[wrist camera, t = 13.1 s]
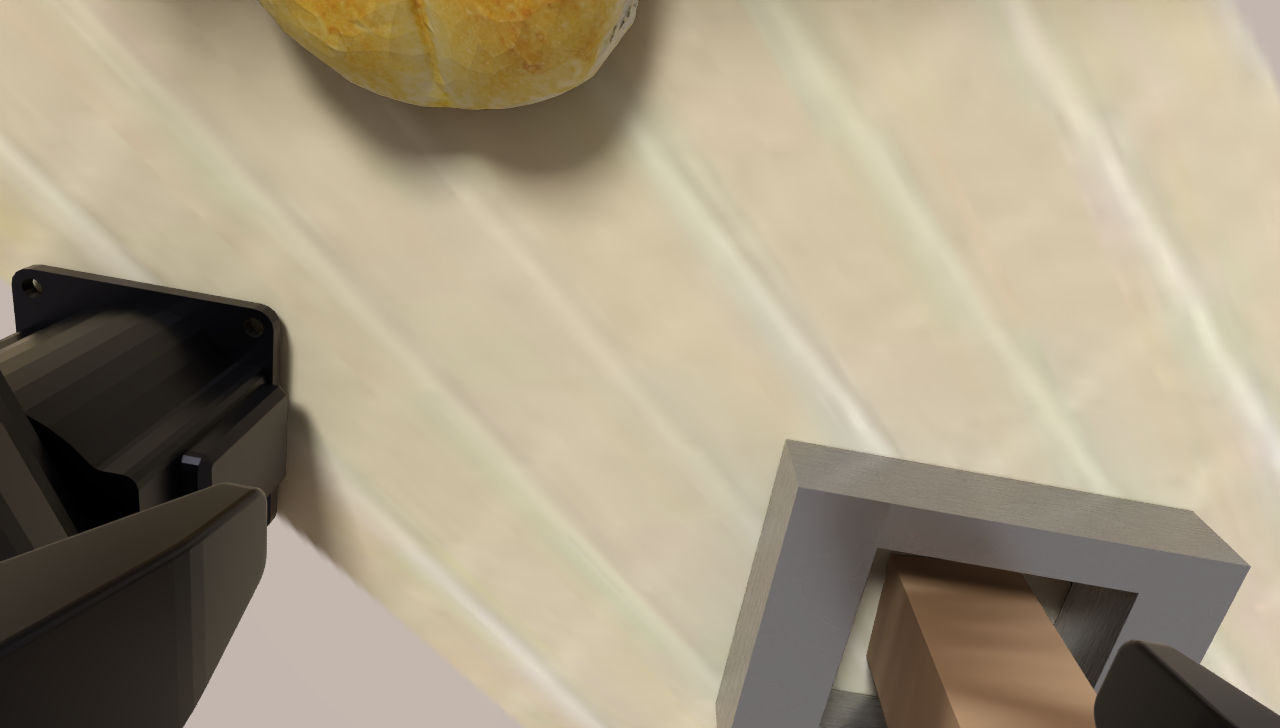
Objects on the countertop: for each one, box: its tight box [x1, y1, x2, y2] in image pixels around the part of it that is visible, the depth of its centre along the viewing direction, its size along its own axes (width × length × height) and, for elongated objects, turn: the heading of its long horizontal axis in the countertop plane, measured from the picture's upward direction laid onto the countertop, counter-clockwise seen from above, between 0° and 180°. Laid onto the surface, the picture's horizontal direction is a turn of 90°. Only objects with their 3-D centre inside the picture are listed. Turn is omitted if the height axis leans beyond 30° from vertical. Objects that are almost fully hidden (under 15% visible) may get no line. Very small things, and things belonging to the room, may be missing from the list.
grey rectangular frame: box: [716, 439, 1251, 728], centre depth 23 cm, size 11×9×2 cm
